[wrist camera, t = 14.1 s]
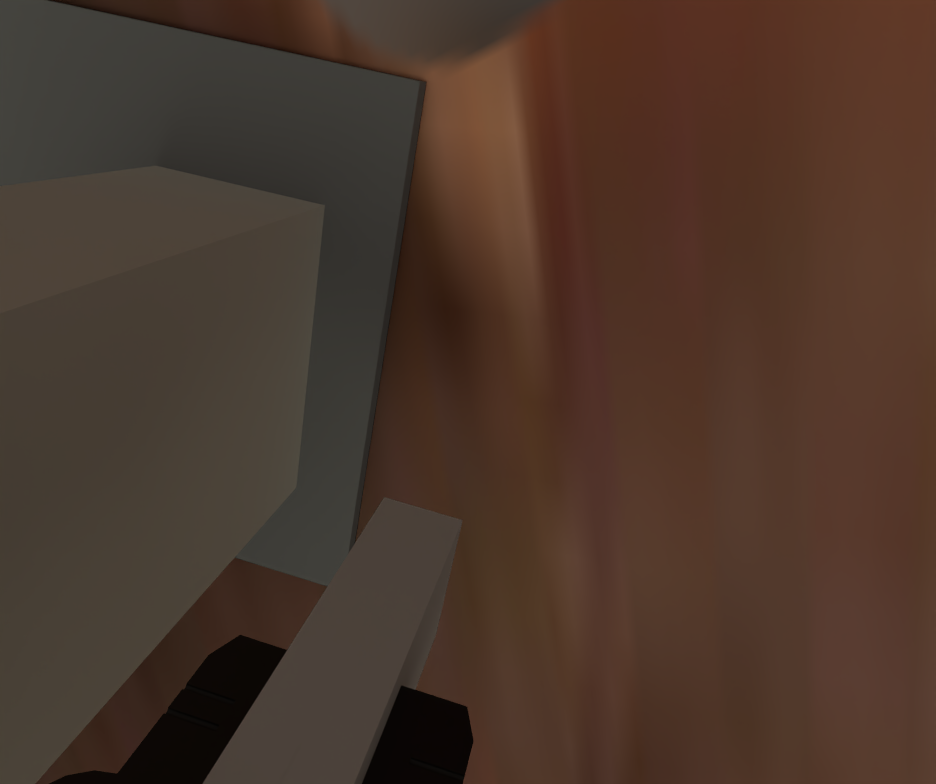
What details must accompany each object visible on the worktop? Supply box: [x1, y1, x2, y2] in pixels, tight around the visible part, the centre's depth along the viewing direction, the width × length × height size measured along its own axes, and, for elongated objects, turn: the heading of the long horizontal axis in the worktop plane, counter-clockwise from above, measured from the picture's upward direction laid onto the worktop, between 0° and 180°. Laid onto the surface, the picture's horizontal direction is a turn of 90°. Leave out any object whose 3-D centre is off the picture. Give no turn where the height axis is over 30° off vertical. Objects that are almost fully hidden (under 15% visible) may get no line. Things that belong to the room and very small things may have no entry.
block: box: [0, 166, 325, 784], centre depth 16 cm, size 5×9×12 cm, turn 170°
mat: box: [0, 0, 426, 586], centre depth 22 cm, size 21×16×1 cm
